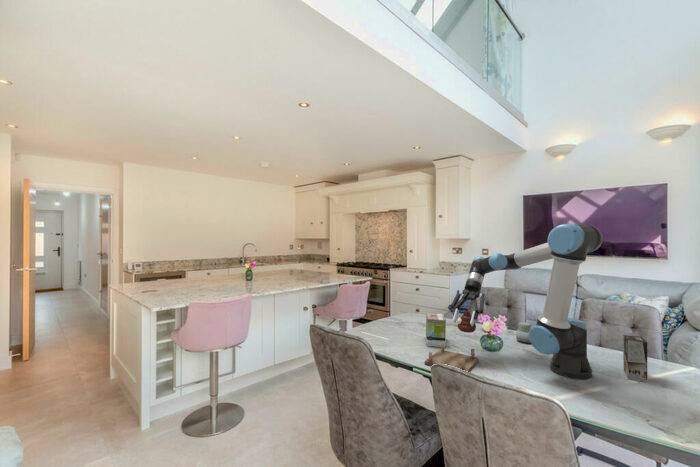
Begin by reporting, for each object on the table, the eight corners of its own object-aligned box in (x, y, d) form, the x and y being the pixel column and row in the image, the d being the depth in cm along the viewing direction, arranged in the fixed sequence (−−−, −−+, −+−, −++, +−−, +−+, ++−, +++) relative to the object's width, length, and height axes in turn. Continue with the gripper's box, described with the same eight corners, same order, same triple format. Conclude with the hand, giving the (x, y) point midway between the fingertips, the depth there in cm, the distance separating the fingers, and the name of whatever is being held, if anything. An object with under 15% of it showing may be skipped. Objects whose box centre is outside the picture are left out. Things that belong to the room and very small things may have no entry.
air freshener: (533, 345, 172) (532, 326, 172) (515, 342, 176) (515, 324, 176) (533, 339, 181) (533, 322, 181) (517, 337, 185) (517, 320, 186)
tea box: (446, 347, 169) (446, 319, 169) (426, 346, 171) (426, 318, 171) (443, 338, 184) (443, 313, 184) (425, 337, 186) (425, 312, 186)
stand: (478, 360, 151) (478, 349, 151) (466, 374, 136) (466, 361, 136) (439, 352, 162) (439, 341, 162) (424, 364, 147) (424, 352, 147)
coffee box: (648, 382, 128) (647, 342, 128) (627, 379, 131) (626, 339, 131) (642, 374, 135) (642, 336, 136) (623, 371, 139) (622, 334, 139)
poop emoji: (475, 334, 146) (476, 314, 146) (456, 331, 150) (456, 311, 149) (475, 327, 156) (476, 308, 155) (457, 324, 159) (458, 306, 158)
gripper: (496, 290, 157) (487, 331, 146) (456, 285, 170) (444, 323, 158) (493, 281, 153) (483, 323, 141) (452, 277, 166) (439, 315, 154)
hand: (462, 323), depth 150 cm, fingers closed on poop emoji, 7 cm apart
